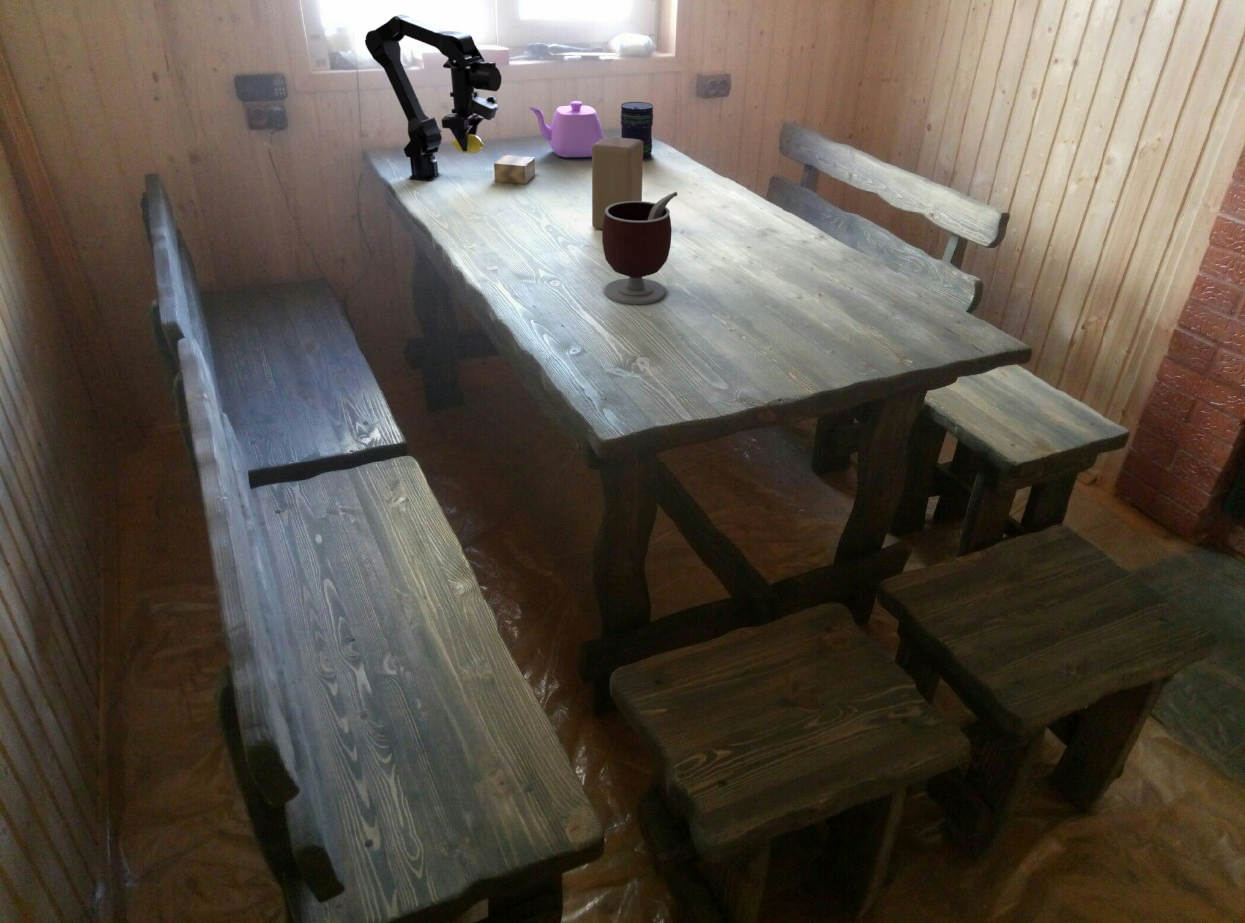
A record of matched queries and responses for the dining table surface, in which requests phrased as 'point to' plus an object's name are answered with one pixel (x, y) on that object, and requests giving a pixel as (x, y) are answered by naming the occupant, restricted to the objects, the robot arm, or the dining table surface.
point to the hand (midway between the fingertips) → (468, 149)
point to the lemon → (470, 144)
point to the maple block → (514, 169)
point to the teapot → (571, 130)
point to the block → (615, 174)
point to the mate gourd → (637, 248)
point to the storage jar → (638, 124)
